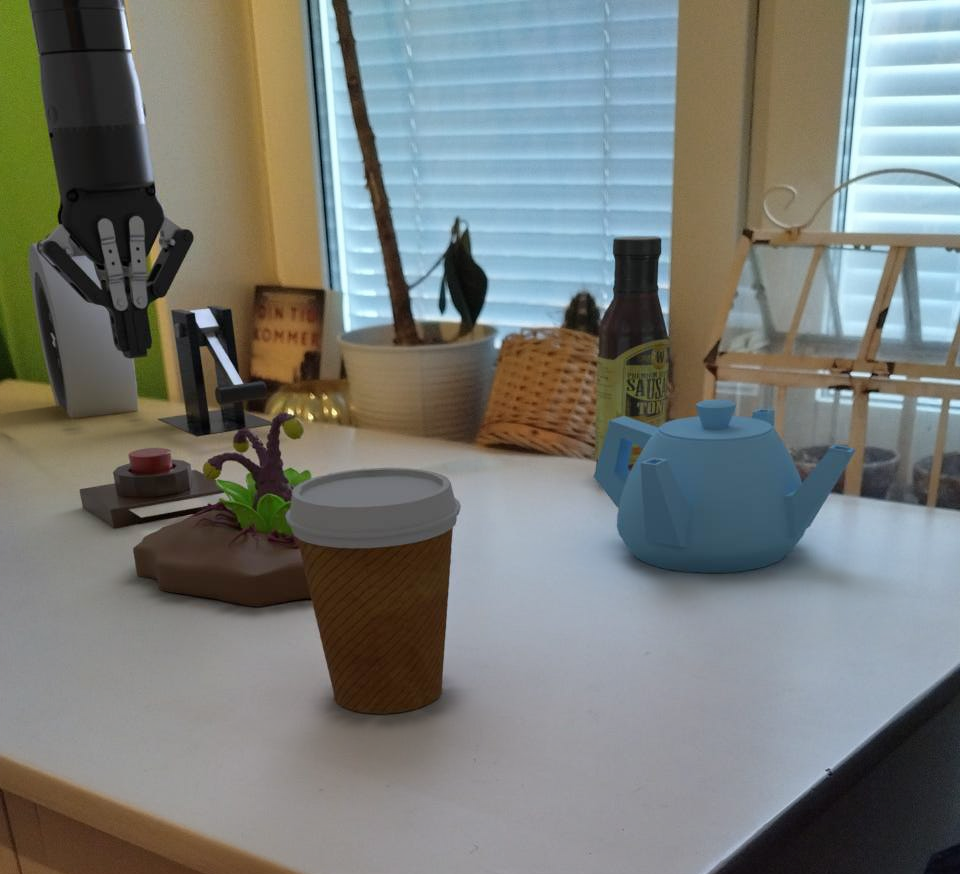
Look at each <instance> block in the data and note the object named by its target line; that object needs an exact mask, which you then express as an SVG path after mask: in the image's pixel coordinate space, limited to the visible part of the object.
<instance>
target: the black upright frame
mask: <svg viewBox="0 0 960 874" xmlns="http://www.w3.org/2000/svg"><path fill="white" fill-rule="evenodd" d="M206 309H210V311H211V313H212V314H213V316H214V318H215V319H216V321H217V323H218V325H219V334H218V340H219V342H220V344H221V346H222V347H223V349H224V351H225V353H226V354H227V356H228V358H229V359H230V361H231V363H232V365H233V366H234V368H235V370H236V372H237V373H238V375H239V377H240V368H239V362H238V361H239V360H238V354H237V344H236V337H235V336H236V335H235V329H234V321H233V312H232V309H231V308H230V307H224V306H220V305H215V304H214V305H207V306H206ZM170 310H171V311H170V312H171V319H172V320H171V321H172V325H173V333H174V339H175V345H176V354H177V360H178V366H179V367H178V368H179V375H180V381H181V388H182V394H183V395H182V396H183V401H184V408H185V414H181V415H173V416H168V417H166V416H165V417H160V418H157V420H158V421H160V422H162V423H165V424H167V425H170V426H172V427H174V428H177V429H178V430H181V431H183V432H185V433H188V434H190V435H192V436H195V437H202V436H203V437H204V436H210V435H216V434H223V433H228V432H235V431H239V430H241V429H243V428H245V429H246V428H247V429H254V428H261V427H267V426H271V424H272V423H273V422H272V421H271V420H268V419H265V418H263V417H260V416H257V415H255V414H252V413H250V412H246V411H245V410H244V401H242V402H235V403H229V404H222V405H219V407H220V409H214V410H209V405H208V399H207V398H208V397H207V392H206V391H207V390H206V384H205V378H204V377H205V376H204V369H203V361H202V355H201V347H200V346H199V339H198V332H197V324H196V317H195V313H193V312H190V310H189V311H188V310H185V309H179V308H177V309H170ZM213 361H214V369H215V376H216V383H217V387H223V386H229V385H228V383H227V381H226V379H225V378H224V376H223V374H222V372H221V371H220V369H219V367H218V365H217V364H216V362H215V360H214V359H213ZM240 378H241V377H240Z"/></svg>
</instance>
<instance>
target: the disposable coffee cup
mask: <svg viewBox="0 0 960 874" xmlns="http://www.w3.org/2000/svg"><path fill="white" fill-rule="evenodd" d="M461 507H462V505H461V503H460V501H459V499H457V498H456V497H455V494H454V490H453V485H452V481H451V480H450V479H449V478H448V477H447V476H445V475H443V474H442V473H439V472H435V471H430V470H427V469H421V468H409V467H408V468H405V467H374V468H373V467H370V468H359V469H358V468H357V469H350V470H349V469H348V470H342V471H336V472H332V473H327V474H323V475H319V476H314V477H311V479H309V480H306V481H304V482H302V483H300V484H298V485H297V486H296V487H295V488H294V489H293V491H292V498H291V507H290V509H289V510H288V511H287V513H286V516H285V517H286V521H287V523H288V524H289V525H290V526H291V528H292V532H293V534H294V536H295V537H297V540H298V544H299V548H300V553H301V557H302V562H303V566H304V569H305V574H306V578H307V583H308V587H309V590H310V596H311V603H312V608H313V611H314V612H313V613H314V616H315V621H316V625H317V629H318V633H319V637H320V640H321V647H322V650H323V654H324V658H325V663H326V667H327V671H328V675H329V679H330V683H331V687H332V692H333V697H334V700H335V702H336V703H337V704H338V705H340V706H341V707H343V708H346V709H347V710H350V711H353V712H354V711H355V712H359V713H365V714H379V715H380V714H384V715H385V714H393V713H395V714H396V713H403V712H407V711H411V710H416V709H419V708H421V707H424V706H426V705H429V704H431V703H432V702H434V701H435V700H437V699H438V698H439V697H440V695H441V694H442V691H443V677H444V661H445V660H444V659H445V647H446V632H447V620H448V607H449V606H448V605H449V604H448V602H449V589H450V575H451V563H452V562H451V561H452V545H453V530H454V527H455V526H456V524H457V519H458V517H457V516H459V514H460V511H461Z"/></svg>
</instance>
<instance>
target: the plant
mask: <svg viewBox="0 0 960 874" xmlns="http://www.w3.org/2000/svg"><path fill="white" fill-rule="evenodd" d="M271 422H273V423H272V424H271V425H270V428H269V433H268V434H267V436H266V439H267V442H265V443H266V444H265V445H264V442H263V441H262V439H260V438H259V436H258V435H256V433H255V432H252V431H251V428H249V429H247V428H246V429H245V428H243V429H241V430H237V432H236V433H235V434H234V436H233V440H232V446H233V448H234V450H235V451H236V452H224V453H221V454H217V455H213V456H212V457H210V458H208V459H207V461H205V462H204V463H203V466H202V473H203V474H204V475H205V479H212V480H213V479H215V480H216V485H217V486H218V487H219V488H221V489H222V490H223V491H224V494H225V495H226V496H227V498H228V499H229V500H228V499H225V498H224V497H219V498H218V501H217V502H216V503H215V506H212V505H213V504H212V503H211V502H208V503H207V505H206V506H207V508H206V509H204V508H202V507H203V506H198V507H199V508H202V509H204V510H203V511H200V512H199V511H198V513H196V514H193V515H189V516H188V517H186V518H184V519H182V520H179V521H177V522H175V523H171V524H168V525H165V526H163V527H161V528H160V529H158V530H156V531H153V532H151V533H149V534H147V535H146V536H144V537H143V538H142V540H141V541H140V542H139V543H138V544H136V545H135V546H133V548H132V551H133V552H132V553H133V559H134V565H135V570H136V571H135V572H136V575H137V576H138V577H141V578H150V579H153V580H157V584H158V587H159V589H160V590H162V591H164V592H169V593H175V594H182V595H187V596H188V595H189V596H193V597H200V598H206V599H213V600H218V601H224V602H228V603H233V604H238V605H243V606H249V607H255V608H256V607H264V606H270V605H276V604H280V603H286V602H291V601H299V600H308V599H309V600H310V599H311V596H310V590H309V587H308V583H307V578H306V574H305V569H304V566H303V562H302V557H301V553H300V548H299V544H298V540H297V537H295V536H294V534H293V532H292V528H291V526H290V525H289V524H288V523H287V521H286V517H285V516H286V513H287V511H288V510H289V509H290V507H291V498H292V491H293V489H294V488H295V487H296V486H297V485H298V484H300V483H302V482H304V481H306V480H309V479H312V472H311V471H310V469H306V470H303V471H301V472H299V471H298V470H297V469H296V468H294V467H291V466H289V467H288V468H286V469H284V468H283V467H284V462H283V459H282V458H281V457H282V451H281V450H280V443H281V441H280V440H281V439H280V434H281V427H283V428H282V430H283V432H284V434H285V435H286V437H288V438H289V439H291V440H300V439H301V437H302V436H303V435H304V433H305V429H304V424H303V423H302V421H301V420H300V419H299V418H298V417H297V416H296V414H295V415H294V414H292V413H288V412H286V411H285V412H280V413H278V414H277V415H276V416H275V417H273V418H272V421H271ZM250 443H251V447H252V449H254V450H255V453H256V455H257V458H258V461H259V464H257V463H255V462H254V461H252V459H251V458H249V457H247V456H245V455H244V453H246V452H248V450H249V448H250ZM229 461H230V462H231V461H232V462H236V463H238V464H240V465H241V466H242V467H244V468H245V469H246V470H247V471H248V473H247V474H246V475H245V482H246V486H247V488H246V487H245V486H243V485H241V484H239V483H238V482H234V481H230V480H222V479H219V477H220V476H221V474H222V471H223V465H224V463H226V462H229ZM209 505H210V506H209ZM311 600H312V599H311Z"/></svg>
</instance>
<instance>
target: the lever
mask: <svg viewBox="0 0 960 874" xmlns="http://www.w3.org/2000/svg"><path fill="white" fill-rule="evenodd" d="M189 312H193V313H195V317H196V324H197V332H198V339H199V346H200V348H202V347H206V348H207V350H208V351H209V353H210V355H211V357H212V358H213V361H214V360H215V362H216V364H217V365H218V367H219V369H220V371H221V372H222V374H223V376H224V378H225V379H226V381H227V383H228V385H229V386H223V387H218V386H217V387H215V389H214V397H215V400H216V403H217V404H218V405H219V406H220V405H222V404H229V403H235V402H242V401H243V402H248V401H254V400H262V399H266V398H267V396H268V393H267V392H268V391H267V387H266V384H265V382H264V381H262V380H261V381H253V382H245V383H244V382H243V381H242V379H241V377H239V376H240V374H239V375H238V373H237V372H236V370H235V368H234V366H233V365H232V363H231V361H230V359H229V358H228V356H227V354H226V353H225V351H224V349H223V347H222V346H221V344H220V342H219V340H218V334H219V325H218V323H217V321H216V319H215V318H214V316H213V314H212V313H211V311H210V309H207V308H201V309H192V310H191V309H190V310H189ZM215 362H214V363H215Z"/></svg>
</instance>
